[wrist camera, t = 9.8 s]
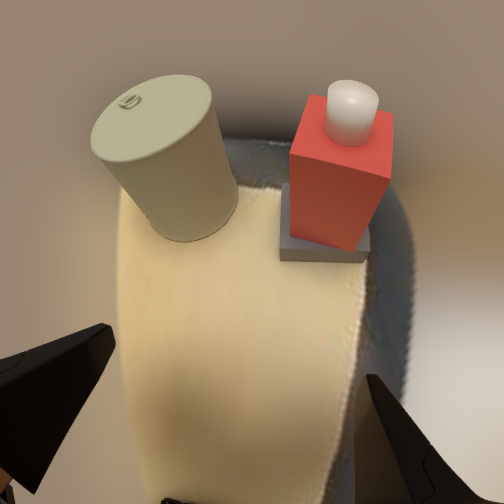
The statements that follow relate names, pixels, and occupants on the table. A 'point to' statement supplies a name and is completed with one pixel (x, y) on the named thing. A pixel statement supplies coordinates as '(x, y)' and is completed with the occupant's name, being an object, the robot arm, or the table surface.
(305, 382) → the table surface
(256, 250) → the table surface
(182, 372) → the table surface
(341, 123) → the ketchup bottle
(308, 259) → the grey box
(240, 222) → the table surface
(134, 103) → the can
